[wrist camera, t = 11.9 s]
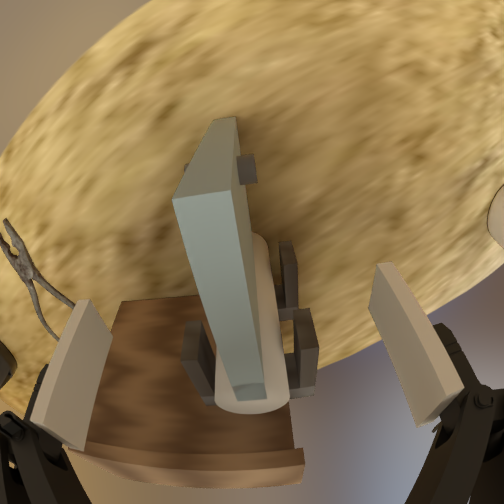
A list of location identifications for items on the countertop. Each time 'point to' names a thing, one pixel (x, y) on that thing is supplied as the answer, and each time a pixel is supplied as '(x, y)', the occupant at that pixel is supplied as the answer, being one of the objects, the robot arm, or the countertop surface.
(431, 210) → the countertop surface
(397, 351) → the robot arm
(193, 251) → the door
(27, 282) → the pliers
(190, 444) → the cabinet
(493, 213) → the pill bottle
